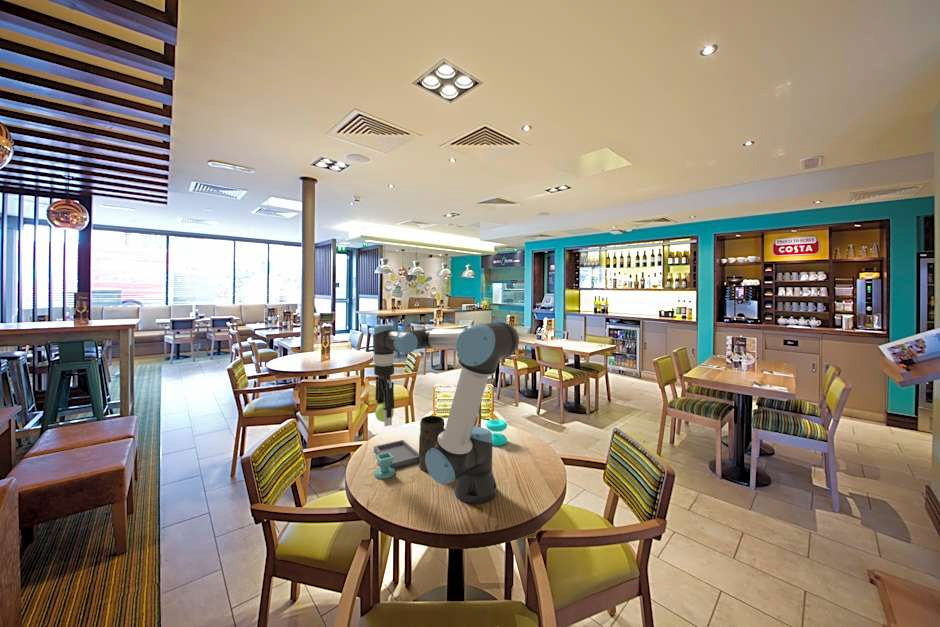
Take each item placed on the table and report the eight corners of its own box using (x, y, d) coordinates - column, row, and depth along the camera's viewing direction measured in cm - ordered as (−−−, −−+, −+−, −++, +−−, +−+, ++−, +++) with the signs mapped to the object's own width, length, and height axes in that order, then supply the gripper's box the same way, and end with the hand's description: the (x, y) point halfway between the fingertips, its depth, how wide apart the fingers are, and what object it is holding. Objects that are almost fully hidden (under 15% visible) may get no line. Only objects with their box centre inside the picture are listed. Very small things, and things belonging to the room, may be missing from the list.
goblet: (398, 475, 143) (398, 457, 143) (378, 481, 139) (378, 462, 138) (390, 467, 150) (390, 450, 149) (371, 472, 145) (371, 454, 145)
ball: (396, 422, 142) (396, 404, 142) (378, 425, 138) (378, 407, 138) (389, 417, 148) (389, 400, 147) (372, 420, 144) (372, 402, 144)
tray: (421, 461, 155) (421, 455, 155) (390, 469, 148) (390, 464, 147) (403, 444, 172) (403, 439, 172) (373, 451, 164) (373, 446, 164)
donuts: (498, 427, 168) (482, 422, 175) (498, 448, 169) (481, 442, 175) (511, 421, 176) (494, 417, 182) (510, 442, 176) (494, 436, 183)
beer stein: (412, 467, 149) (414, 420, 148) (427, 457, 159) (429, 412, 157) (444, 479, 142) (447, 430, 141) (457, 467, 152) (460, 421, 150)
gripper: (403, 367, 136) (403, 428, 137) (384, 359, 152) (384, 413, 153) (383, 369, 131) (384, 432, 133) (366, 361, 148) (367, 416, 149)
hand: (384, 422), depth 143 cm, fingers closed on ball, 7 cm apart
